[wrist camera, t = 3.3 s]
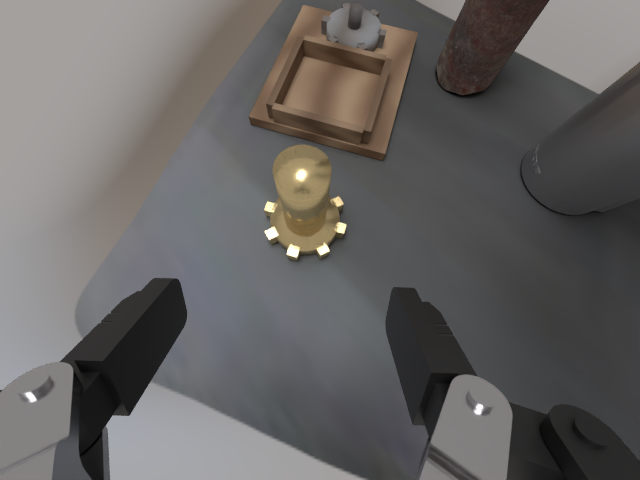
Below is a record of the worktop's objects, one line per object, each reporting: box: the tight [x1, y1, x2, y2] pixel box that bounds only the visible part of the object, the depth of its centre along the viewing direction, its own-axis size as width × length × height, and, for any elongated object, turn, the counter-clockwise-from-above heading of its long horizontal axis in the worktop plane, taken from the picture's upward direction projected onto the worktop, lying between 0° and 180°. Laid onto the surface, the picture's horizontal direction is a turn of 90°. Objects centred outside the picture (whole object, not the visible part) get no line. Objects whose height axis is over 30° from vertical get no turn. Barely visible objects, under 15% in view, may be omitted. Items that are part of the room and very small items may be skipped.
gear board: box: [249, 2, 418, 161], centre depth 32 cm, size 16×20×5 cm
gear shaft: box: [264, 145, 346, 261], centre depth 23 cm, size 8×8×10 cm
